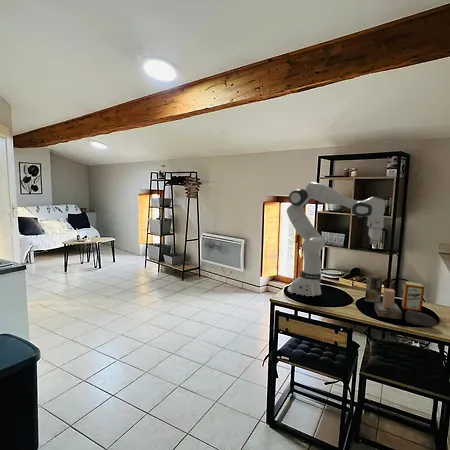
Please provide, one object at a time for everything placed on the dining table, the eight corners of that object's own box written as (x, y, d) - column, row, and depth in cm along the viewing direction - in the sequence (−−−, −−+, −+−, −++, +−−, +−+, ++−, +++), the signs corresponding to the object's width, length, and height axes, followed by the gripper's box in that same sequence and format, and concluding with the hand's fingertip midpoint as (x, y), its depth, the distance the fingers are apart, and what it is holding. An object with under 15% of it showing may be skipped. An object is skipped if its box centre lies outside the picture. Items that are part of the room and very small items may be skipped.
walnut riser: (378, 316, 185) (378, 309, 185) (374, 307, 199) (374, 301, 198) (401, 319, 182) (402, 312, 182) (395, 310, 196) (396, 303, 195)
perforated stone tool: (435, 326, 175) (437, 314, 174) (436, 330, 170) (438, 317, 169) (404, 320, 182) (405, 308, 181) (404, 323, 177) (405, 311, 176)
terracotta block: (383, 307, 188) (385, 291, 187) (382, 304, 193) (383, 288, 192) (393, 308, 187) (395, 292, 186) (391, 305, 192) (393, 289, 190)
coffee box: (380, 300, 211) (383, 276, 208) (380, 303, 205) (382, 279, 203) (365, 297, 215) (367, 274, 213) (364, 300, 209) (366, 276, 207)
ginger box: (418, 308, 200) (421, 283, 198) (421, 311, 194) (424, 286, 192) (401, 305, 203) (404, 280, 201) (403, 309, 197) (406, 284, 195)
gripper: (367, 221, 209) (365, 242, 211) (372, 225, 189) (370, 248, 191) (377, 221, 207) (375, 243, 209) (384, 225, 188) (381, 249, 190)
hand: (373, 245), depth 200 cm, fingers open, 8 cm apart
